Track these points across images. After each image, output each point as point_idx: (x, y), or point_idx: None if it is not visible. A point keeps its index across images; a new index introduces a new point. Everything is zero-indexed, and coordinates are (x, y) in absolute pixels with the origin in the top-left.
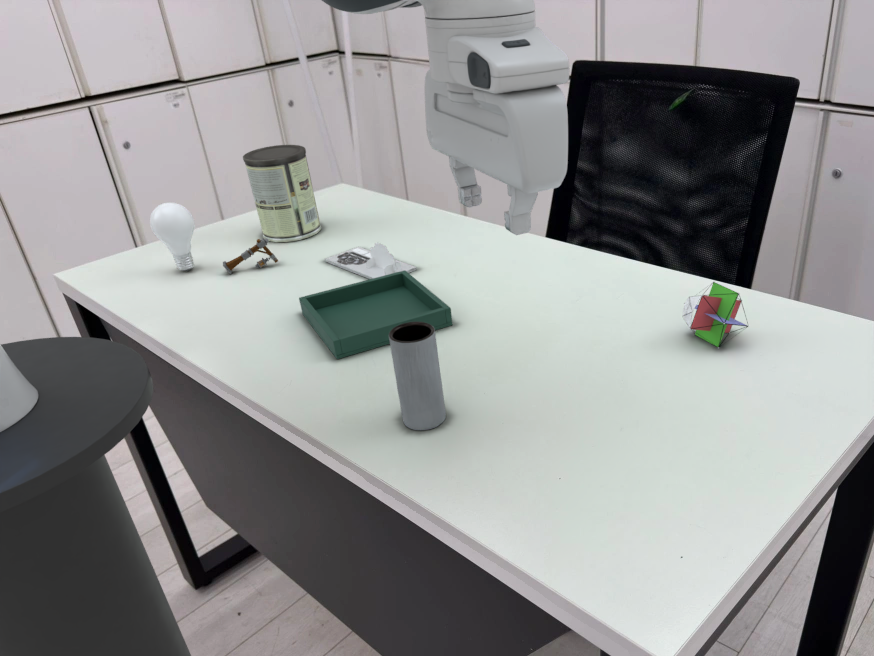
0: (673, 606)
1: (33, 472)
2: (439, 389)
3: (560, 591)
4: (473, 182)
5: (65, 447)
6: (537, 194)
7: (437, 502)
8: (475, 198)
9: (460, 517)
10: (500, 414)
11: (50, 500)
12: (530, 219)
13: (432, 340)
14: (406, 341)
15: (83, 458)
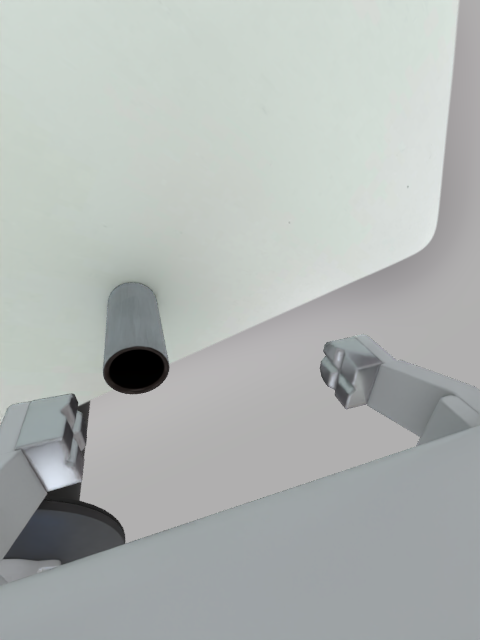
0: (422, 219)
1: (98, 525)
2: (152, 308)
3: (369, 274)
4: (20, 468)
5: (70, 523)
6: (475, 387)
7: (255, 318)
8: (73, 422)
9: (279, 308)
10: (162, 227)
11: (56, 493)
12: (382, 348)
13: (160, 347)
14: (163, 379)
15: (82, 509)
